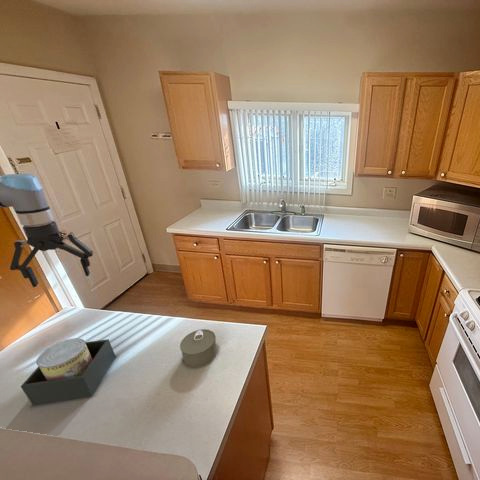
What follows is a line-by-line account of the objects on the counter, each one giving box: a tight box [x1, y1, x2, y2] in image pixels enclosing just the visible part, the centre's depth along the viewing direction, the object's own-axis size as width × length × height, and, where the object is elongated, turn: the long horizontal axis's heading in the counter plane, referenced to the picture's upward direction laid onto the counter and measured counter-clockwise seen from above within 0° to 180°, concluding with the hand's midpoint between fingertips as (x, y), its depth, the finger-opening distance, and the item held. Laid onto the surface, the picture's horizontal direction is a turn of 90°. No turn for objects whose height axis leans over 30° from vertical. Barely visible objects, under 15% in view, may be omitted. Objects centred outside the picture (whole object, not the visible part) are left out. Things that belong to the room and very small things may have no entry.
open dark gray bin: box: [20, 338, 117, 406], centre depth 84 cm, size 15×15×9 cm
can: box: [179, 328, 218, 368], centre depth 95 cm, size 12×12×7 cm
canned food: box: [36, 337, 93, 381], centre depth 83 cm, size 11×11×12 cm
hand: (63, 279), depth 90 cm, fingers open, 13 cm apart
